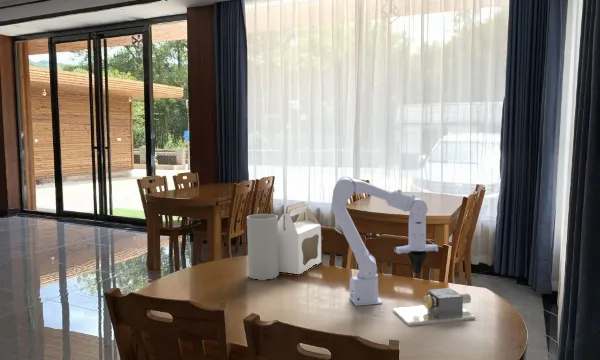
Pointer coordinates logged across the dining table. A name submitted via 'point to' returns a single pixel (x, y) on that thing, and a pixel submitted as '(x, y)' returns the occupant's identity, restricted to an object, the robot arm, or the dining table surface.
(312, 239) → the gable box
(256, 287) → the dining table surface
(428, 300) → the shaft
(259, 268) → the cylinder vase
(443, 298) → the bearing block
